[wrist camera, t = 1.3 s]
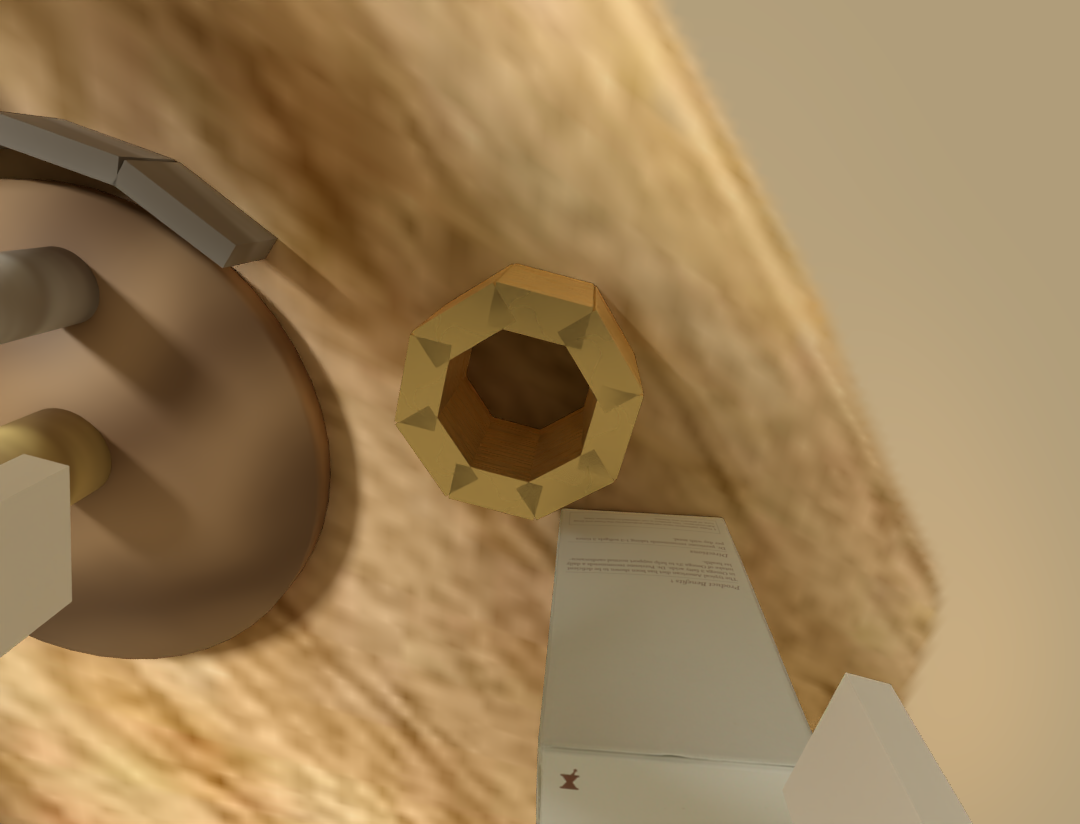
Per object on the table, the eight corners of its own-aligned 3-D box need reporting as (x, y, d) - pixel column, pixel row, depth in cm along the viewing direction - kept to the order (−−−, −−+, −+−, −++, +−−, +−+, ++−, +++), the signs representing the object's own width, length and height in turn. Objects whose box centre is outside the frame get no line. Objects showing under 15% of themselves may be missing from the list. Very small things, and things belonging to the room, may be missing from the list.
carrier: (-270, 323, 28) (-523, 363, 22) (100, -16, 22) (-98, -97, 16) (94, 696, 34) (-20, 813, 27) (463, 506, 28) (425, 600, 22)
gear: (399, 333, 25) (354, 366, 21) (565, 231, 24) (557, 242, 19) (501, 485, 27) (481, 547, 23) (662, 402, 25) (676, 451, 21)
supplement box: (552, 640, 30) (524, 937, 18) (560, 502, 27) (533, 743, 16) (708, 653, 30) (784, 967, 18) (731, 514, 27) (837, 772, 15)
